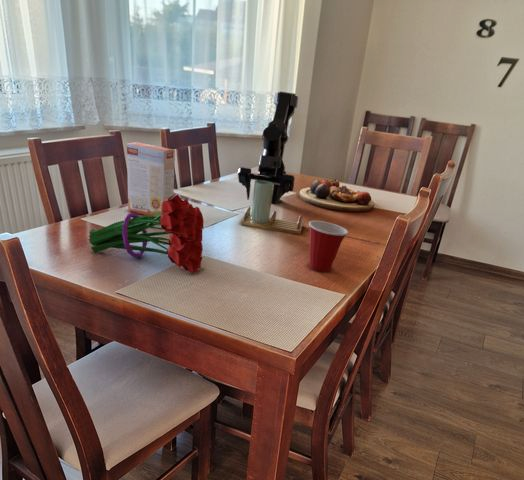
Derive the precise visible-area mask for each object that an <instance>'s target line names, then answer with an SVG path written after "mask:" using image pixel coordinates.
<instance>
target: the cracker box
mask: <svg viewBox="0 0 524 480" xmlns="http://www.w3.org/2000/svg"><path fill="white" fill-rule="evenodd" d="M175 156H176V150H175V149H172V148H167V147H163V146H159V145H153V144H148V143H144V142H139V141H135V142H128V143H126V162H127V163H126V168H127V170H126V171H127V172H126V173H127V210H128V211H129V212H131V213H136V214H138V215H142V216H144V215H152V216H159V215H160V214H162V213H161V212H162V202H163V201H165V200H167V199H168V198H170V197H171V196H173V197H175V162H176V161H175V160H176V159H175ZM173 197H172V198H173ZM172 198H171V199H172ZM171 199H170V200H171Z"/></svg>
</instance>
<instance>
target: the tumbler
mask: <svg viewBox="0 0 524 480" xmlns="http://www.w3.org/2000/svg"><path fill="white" fill-rule="evenodd" d="M273 187H274V183H272V182H269V181H264V180H254V184H253V193H252V194H253V195H252V203H251V210H250V215H251V220H252V221H254V222H257V223H268V222H269V218H271V210H272V203H271V202H272V195H273Z"/></svg>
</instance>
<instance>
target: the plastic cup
mask: <svg viewBox="0 0 524 480" xmlns="http://www.w3.org/2000/svg"><path fill="white" fill-rule="evenodd" d="M308 225H309V251H308V252H309V253H308V255H309V268H310V269H312V270H314V271H317V272H323V273H325V272H329V271H330V270H331V268H332V266H333V263H334V261H335V259H336V257H337V254H338V251H339V249H340V247H341V245H342V242H343V240H344V238H345V237H346V236H347V235H348V233H349V231H348V230H347V228H345V227H343V226H340V225H338V224H335V223H332V222H328V221H323V220H309V222H308Z"/></svg>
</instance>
